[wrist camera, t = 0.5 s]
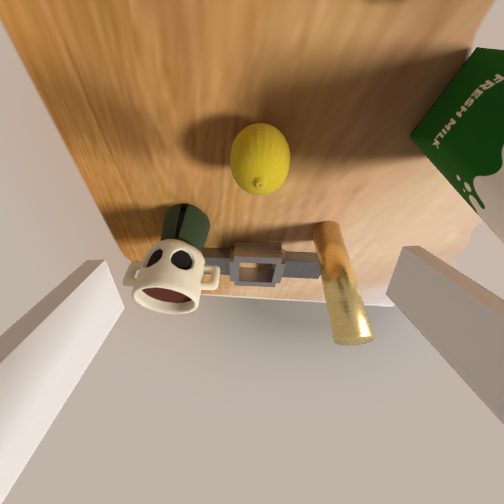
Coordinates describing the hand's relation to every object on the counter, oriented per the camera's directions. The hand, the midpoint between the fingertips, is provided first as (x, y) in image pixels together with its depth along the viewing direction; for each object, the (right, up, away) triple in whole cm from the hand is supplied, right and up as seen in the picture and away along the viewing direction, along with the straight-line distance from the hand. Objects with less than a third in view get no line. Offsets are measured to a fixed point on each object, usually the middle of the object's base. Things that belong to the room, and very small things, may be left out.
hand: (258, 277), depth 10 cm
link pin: (+11, +4, +23) cm, 26 cm away
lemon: (0, +13, +13) cm, 18 cm away
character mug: (-9, +6, +22) cm, 25 cm away
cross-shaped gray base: (0, 0, +29) cm, 29 cm away
